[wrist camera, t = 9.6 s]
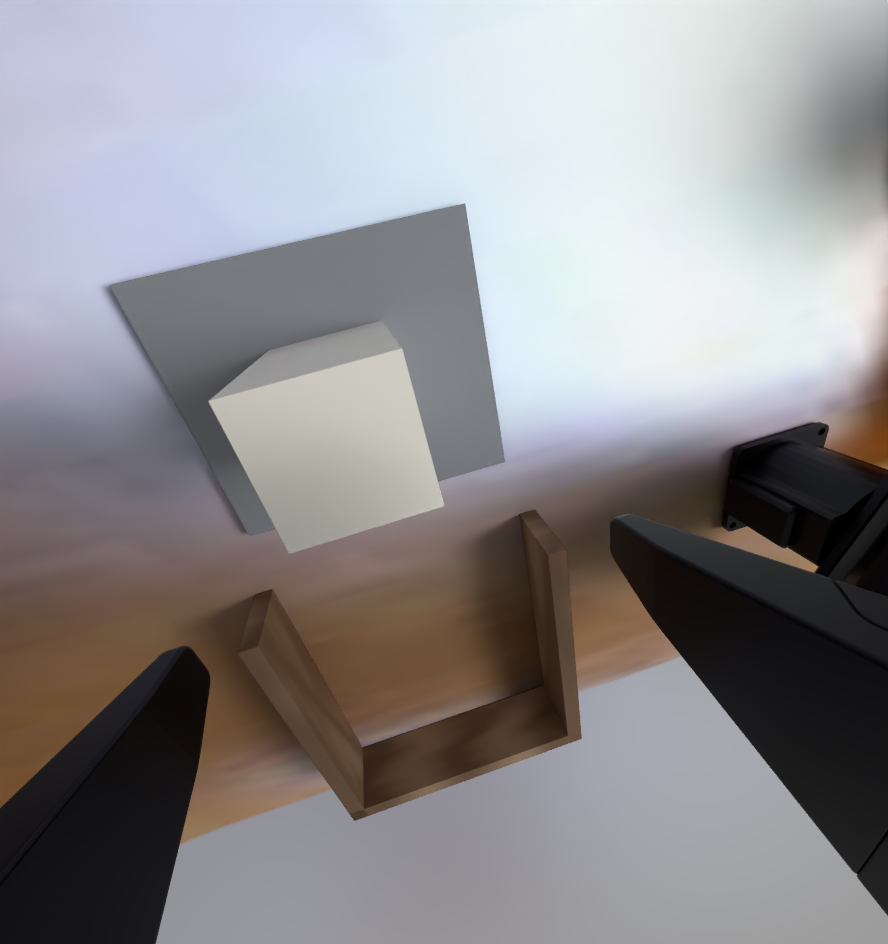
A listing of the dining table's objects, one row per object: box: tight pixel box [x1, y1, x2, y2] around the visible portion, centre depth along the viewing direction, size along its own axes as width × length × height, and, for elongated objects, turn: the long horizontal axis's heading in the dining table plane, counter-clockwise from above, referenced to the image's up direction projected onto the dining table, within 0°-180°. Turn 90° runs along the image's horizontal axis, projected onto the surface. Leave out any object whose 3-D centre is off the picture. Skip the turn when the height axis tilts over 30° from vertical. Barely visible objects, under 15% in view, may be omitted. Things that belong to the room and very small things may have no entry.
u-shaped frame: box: [237, 510, 581, 821], centre depth 26 cm, size 17×18×4 cm
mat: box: [109, 204, 505, 536], centre depth 18 cm, size 14×12×1 cm
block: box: [208, 320, 444, 554], centre depth 15 cm, size 5×5×8 cm
